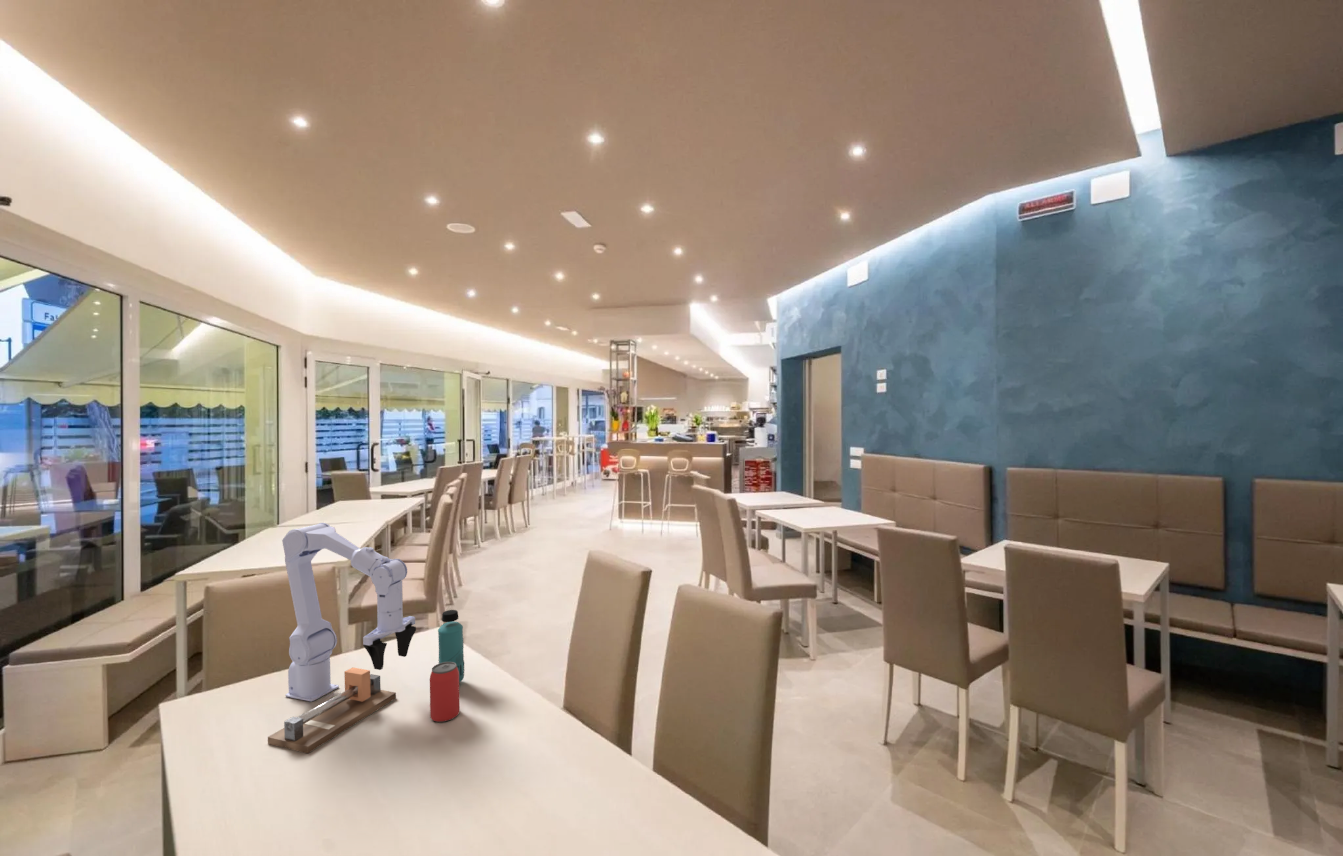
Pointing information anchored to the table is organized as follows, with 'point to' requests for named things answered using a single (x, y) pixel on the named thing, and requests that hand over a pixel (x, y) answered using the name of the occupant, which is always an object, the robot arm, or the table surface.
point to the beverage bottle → (451, 641)
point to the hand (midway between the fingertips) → (390, 662)
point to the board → (332, 722)
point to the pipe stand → (324, 709)
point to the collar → (358, 683)
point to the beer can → (444, 692)
